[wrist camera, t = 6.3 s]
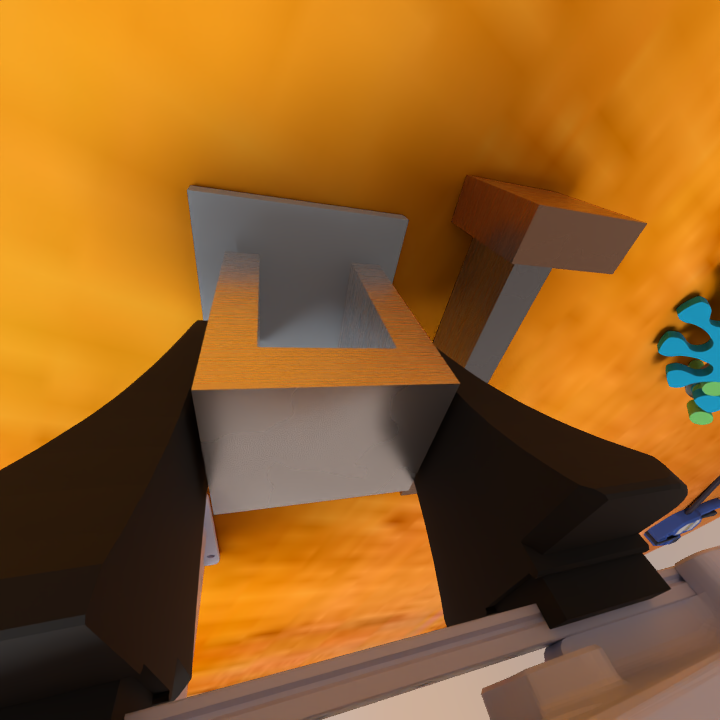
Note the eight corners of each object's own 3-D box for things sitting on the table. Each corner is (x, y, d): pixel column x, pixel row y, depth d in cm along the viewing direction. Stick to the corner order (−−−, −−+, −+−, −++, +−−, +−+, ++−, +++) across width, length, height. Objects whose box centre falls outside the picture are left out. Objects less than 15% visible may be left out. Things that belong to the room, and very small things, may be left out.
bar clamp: (703, 533, 55) (649, 552, 54) (689, 519, 57) (636, 537, 56) (840, 410, 34) (754, 440, 34) (811, 394, 36) (729, 422, 36)
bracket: (359, 355, 14) (408, 490, 9) (232, 355, 12) (213, 515, 8) (378, 264, 11) (460, 383, 7) (224, 250, 10) (191, 390, 5)
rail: (437, 430, 21) (466, 486, 18) (380, 434, 20) (400, 495, 17) (555, 191, 13) (647, 223, 10) (466, 174, 11) (539, 204, 8)
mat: (366, 364, 16) (369, 371, 16) (211, 364, 14) (210, 373, 14) (403, 215, 12) (409, 220, 11) (190, 185, 10) (187, 189, 9)
